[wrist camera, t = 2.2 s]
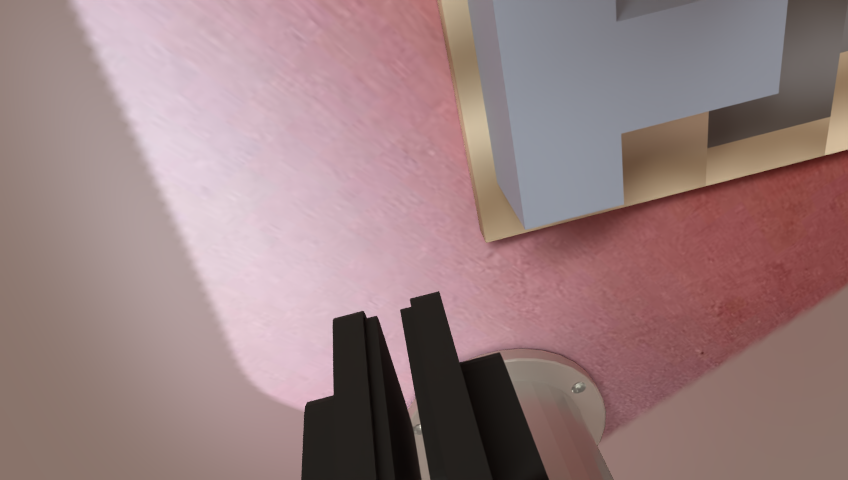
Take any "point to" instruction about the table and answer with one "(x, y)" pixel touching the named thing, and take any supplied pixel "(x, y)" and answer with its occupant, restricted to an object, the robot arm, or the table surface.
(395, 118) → the table surface
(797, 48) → the board
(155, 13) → the table surface
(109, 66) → the table surface
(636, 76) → the t block
